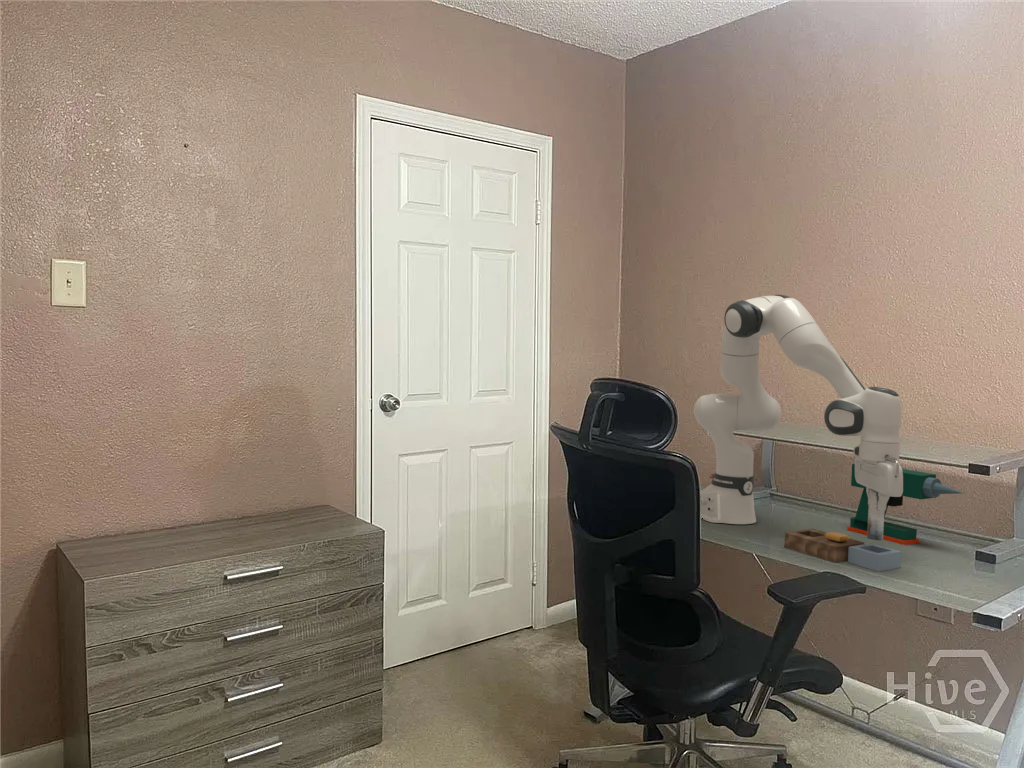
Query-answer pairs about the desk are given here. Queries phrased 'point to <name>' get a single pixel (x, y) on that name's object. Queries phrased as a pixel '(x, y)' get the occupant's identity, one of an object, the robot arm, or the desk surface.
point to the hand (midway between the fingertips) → (876, 508)
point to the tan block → (837, 537)
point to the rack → (874, 557)
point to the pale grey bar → (875, 518)
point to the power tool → (899, 504)
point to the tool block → (819, 545)
